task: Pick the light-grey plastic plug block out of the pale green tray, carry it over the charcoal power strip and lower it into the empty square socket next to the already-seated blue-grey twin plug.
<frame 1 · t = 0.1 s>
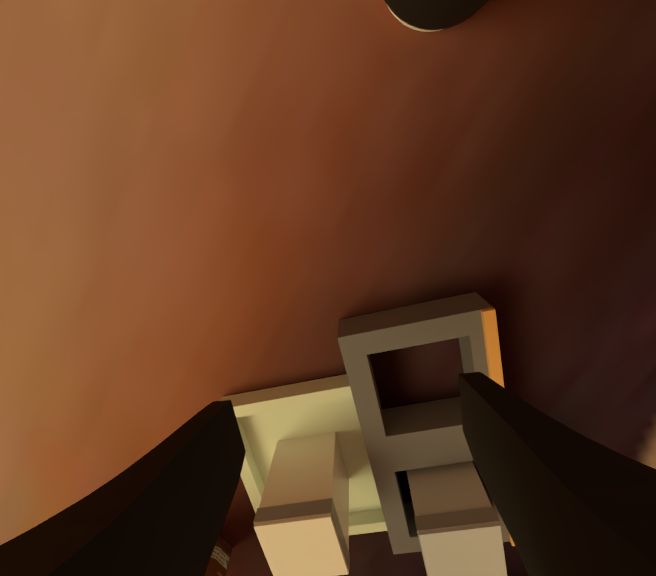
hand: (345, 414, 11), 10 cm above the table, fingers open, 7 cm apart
food container: (164, 539, 27), on the table
plug: (313, 460, 23), resting on tray
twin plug: (436, 466, 23), resting in pdu strip
pdu strip: (427, 419, 22), on the table
tray: (314, 455, 24), on the table
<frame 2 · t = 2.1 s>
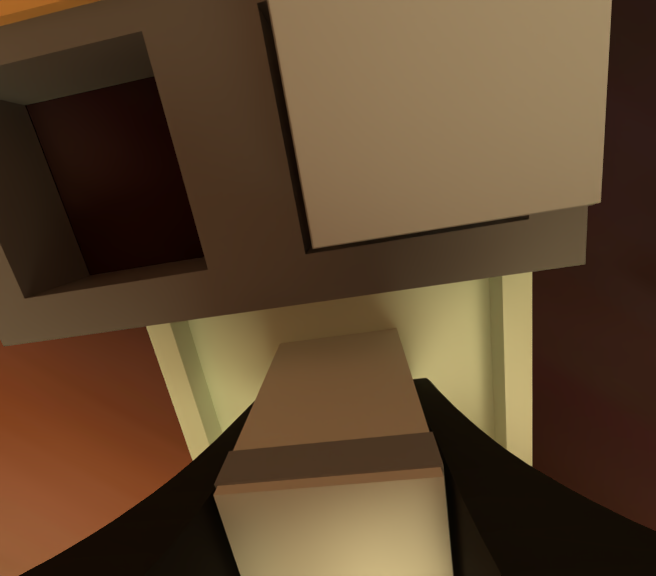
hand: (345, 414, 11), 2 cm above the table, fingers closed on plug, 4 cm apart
plug: (346, 387, 12), resting on tray, touching gripper
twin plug: (388, 133, 10), resting in pdu strip
pdu strip: (257, 158, 10), on the table
tray: (346, 380, 13), on the table
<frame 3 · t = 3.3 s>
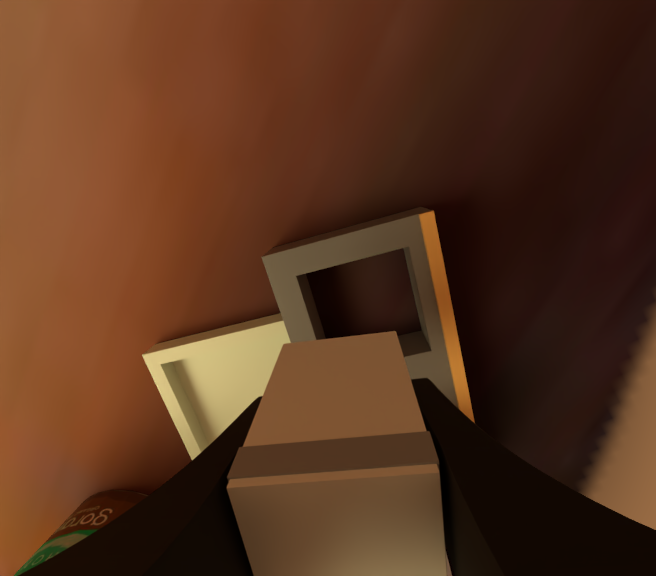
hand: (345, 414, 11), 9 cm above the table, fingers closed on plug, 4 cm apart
food container: (110, 511, 25), on the table
plug: (346, 386, 13), point 7 cm above the table, touching gripper
pdu strip: (380, 360, 20), on the table
tray: (260, 408, 22), on the table
when the fingers open (3 cm above the table, at t = 4.9 s): plug drops 1 cm, resting in pdu strip.
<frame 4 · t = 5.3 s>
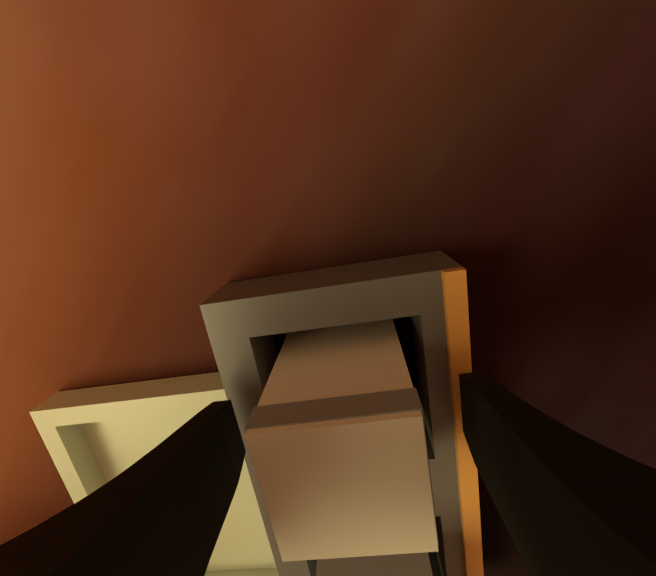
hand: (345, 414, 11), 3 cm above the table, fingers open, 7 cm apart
plug: (347, 366, 14), resting in pdu strip
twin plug: (372, 513, 16), resting in pdu strip
pdu strip: (360, 444, 15), on the table
tray: (196, 486, 16), on the table
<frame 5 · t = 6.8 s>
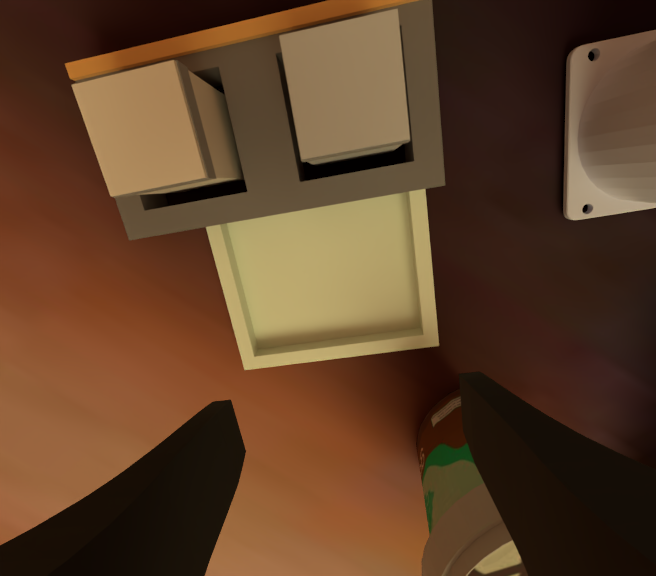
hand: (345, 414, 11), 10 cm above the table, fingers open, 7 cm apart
food container: (446, 454, 24), on the table
plug: (204, 147, 19), resting in pdu strip
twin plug: (347, 118, 18), resting in pdu strip
pdu strip: (272, 133, 18), on the table
tray: (326, 274, 20), on the table
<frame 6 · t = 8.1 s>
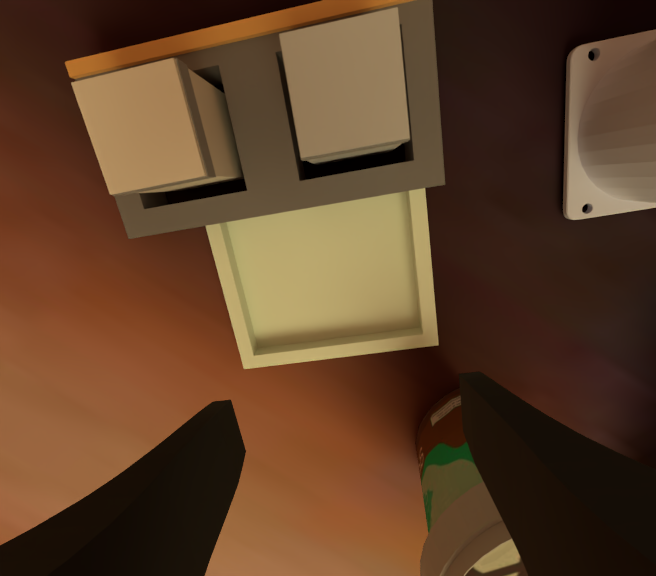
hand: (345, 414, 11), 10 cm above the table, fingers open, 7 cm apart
food container: (446, 453, 24), on the table
plug: (204, 146, 19), resting in pdu strip
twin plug: (347, 118, 18), resting in pdu strip
pdu strip: (272, 132, 18), on the table
tray: (326, 273, 20), on the table
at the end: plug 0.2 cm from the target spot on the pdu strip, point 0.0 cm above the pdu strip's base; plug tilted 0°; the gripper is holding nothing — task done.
